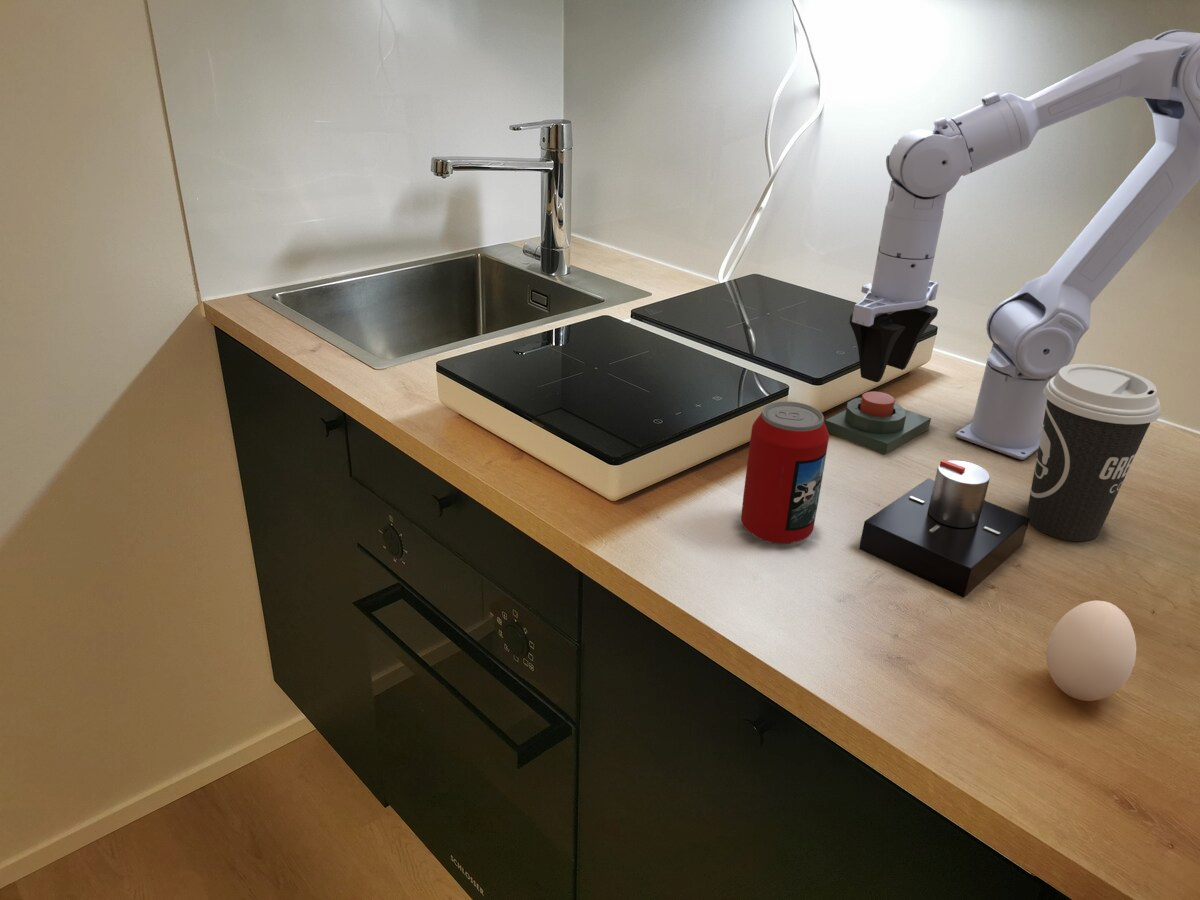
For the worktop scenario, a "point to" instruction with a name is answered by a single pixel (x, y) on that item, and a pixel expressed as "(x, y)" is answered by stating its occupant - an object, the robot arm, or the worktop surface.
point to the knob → (958, 493)
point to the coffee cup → (1087, 446)
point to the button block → (877, 427)
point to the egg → (1091, 651)
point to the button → (877, 404)
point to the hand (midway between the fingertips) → (883, 372)
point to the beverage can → (784, 472)
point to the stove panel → (942, 541)
